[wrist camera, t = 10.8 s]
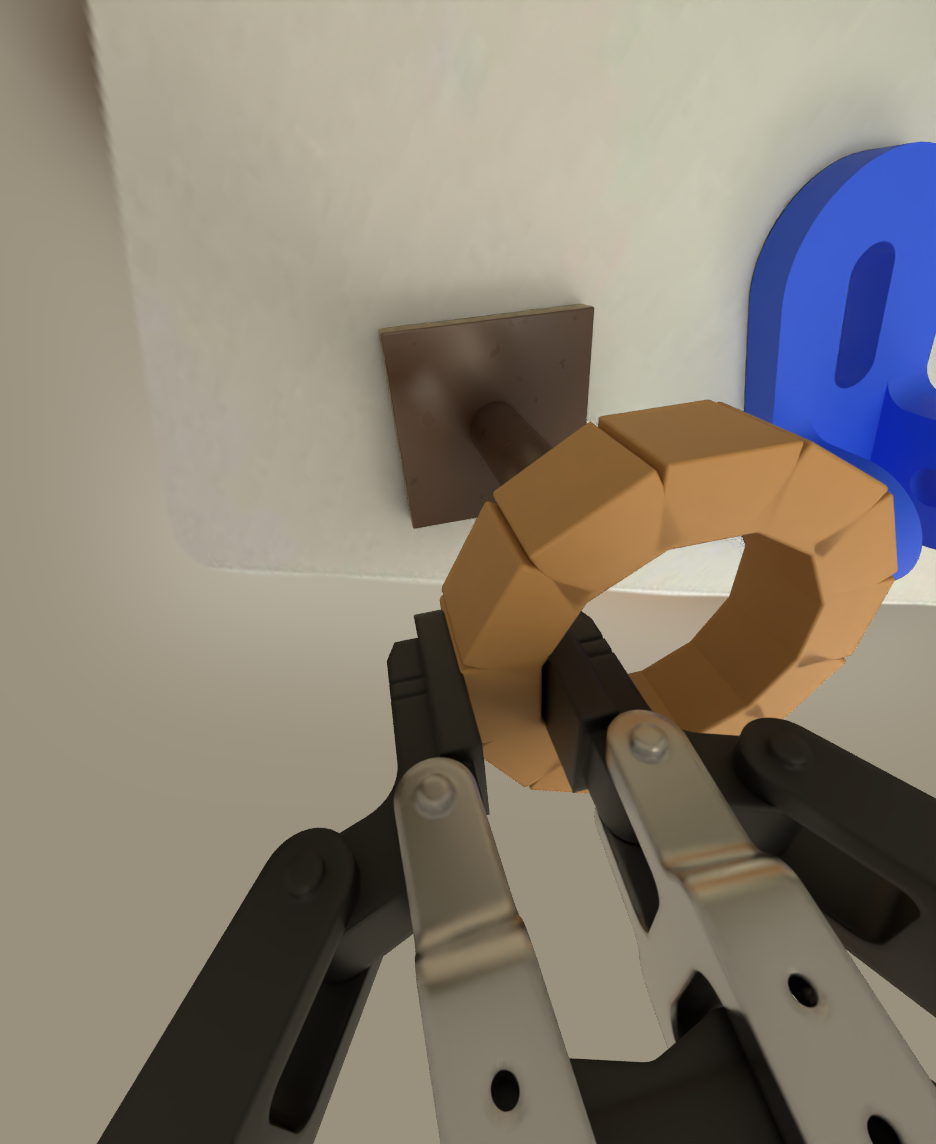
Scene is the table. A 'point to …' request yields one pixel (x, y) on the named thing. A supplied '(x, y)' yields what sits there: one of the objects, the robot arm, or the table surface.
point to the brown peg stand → (483, 401)
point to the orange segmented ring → (645, 531)
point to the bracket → (856, 326)
